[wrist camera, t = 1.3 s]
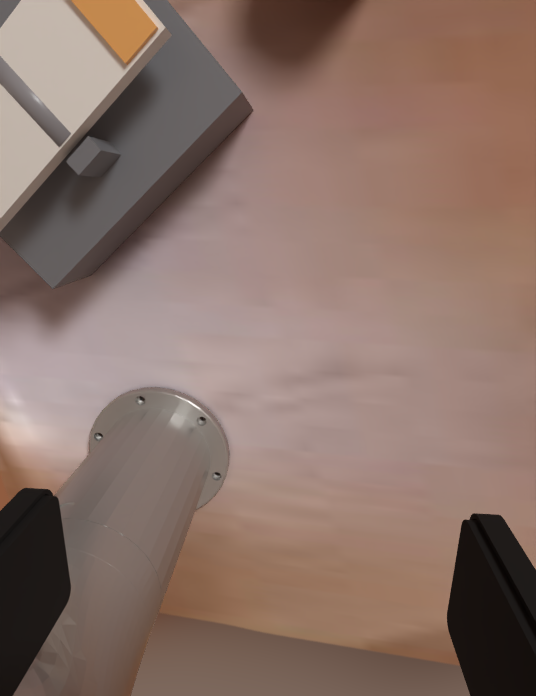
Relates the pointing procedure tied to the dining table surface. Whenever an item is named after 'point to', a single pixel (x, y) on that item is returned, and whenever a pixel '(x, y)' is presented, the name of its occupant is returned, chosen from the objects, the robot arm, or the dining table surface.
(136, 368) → the dining table surface
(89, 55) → the rocker
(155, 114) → the switch box
